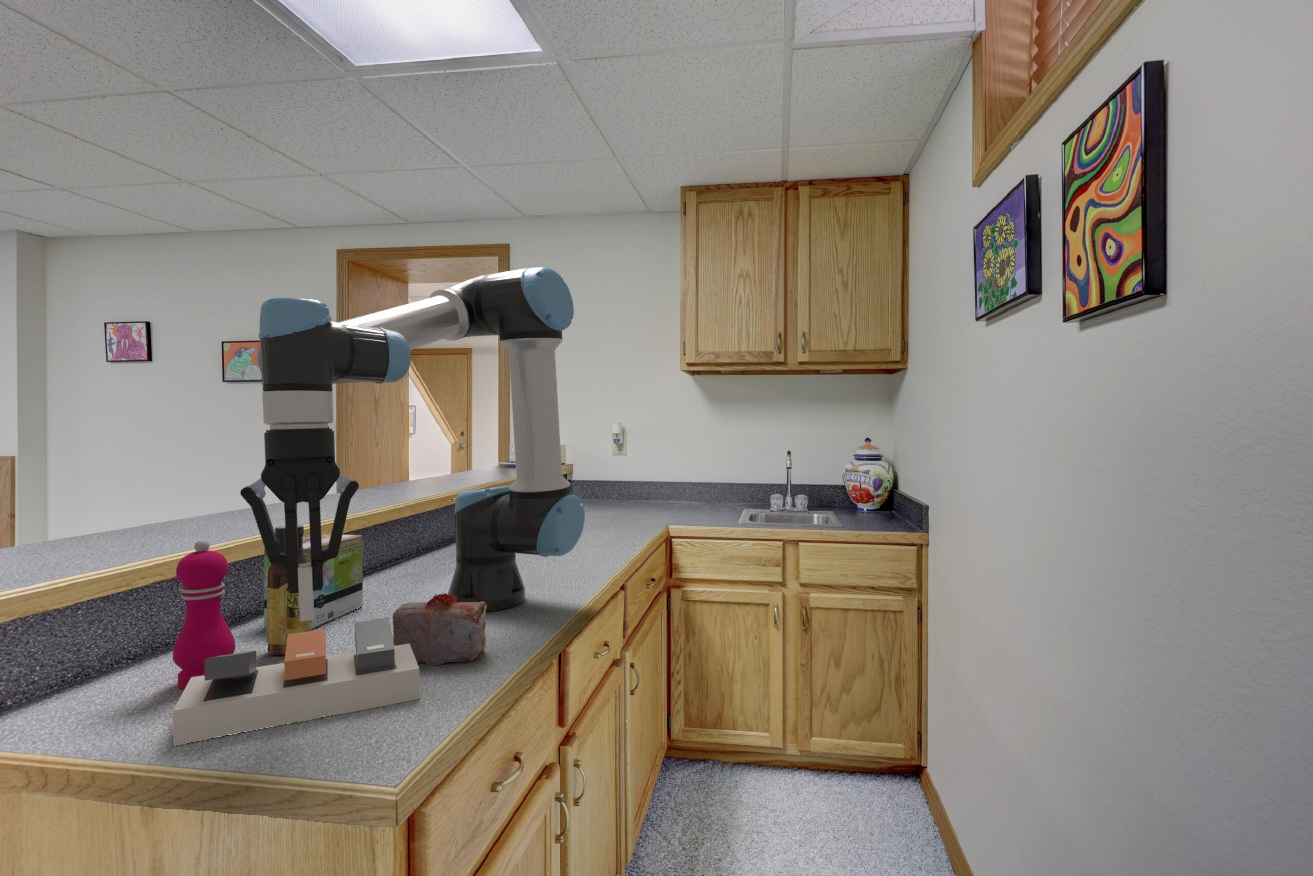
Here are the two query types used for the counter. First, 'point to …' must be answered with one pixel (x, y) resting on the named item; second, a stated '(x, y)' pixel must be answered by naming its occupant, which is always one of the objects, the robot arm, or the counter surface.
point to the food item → (441, 629)
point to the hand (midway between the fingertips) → (307, 617)
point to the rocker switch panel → (290, 696)
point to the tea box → (333, 579)
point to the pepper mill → (201, 612)
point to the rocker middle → (305, 654)
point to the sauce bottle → (283, 600)
